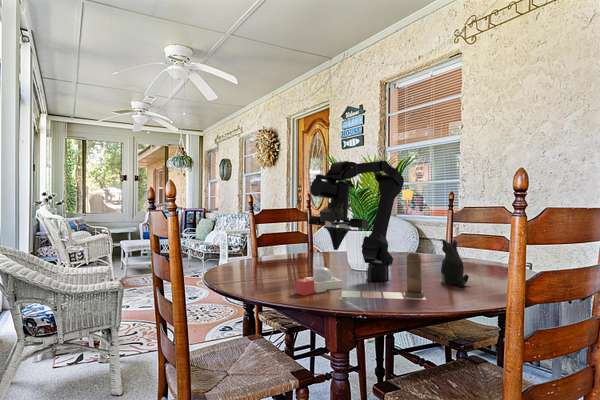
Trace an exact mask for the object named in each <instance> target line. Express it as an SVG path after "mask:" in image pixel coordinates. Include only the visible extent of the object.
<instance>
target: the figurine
mask: <svg viewBox="0 0 600 400" xmlns="http://www.w3.org/2000/svg"><path fill="white" fill-rule="evenodd" d="M441 241H442V248H441V250H442V252H443V253H444V255H445V256H444V258H443V259H442V261H441V267H440V280H439V282H438V283H440V284H444V285H450V286H452V287H456V288H463V287H464V286H465V285H466V283H468V281H469V278H470V276H469V274H464V268H465V267H464V262H463V260H462V258H461V256H460V254H459V252H458V248H457V246H458V242H457V240H456V239H453V240H452V241H451V242H448V241H446V239H442V240H441Z"/></svg>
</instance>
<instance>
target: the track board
mask: <svg viewBox="0 0 600 400" xmlns="http://www.w3.org/2000/svg"><path fill="white" fill-rule="evenodd" d="M361 294H362V295H361ZM361 296H362V299H388V300H389V299H392V300H396V299H397V300H404V299H405V300H419V301H420V300H421V301H422V300H423V301H424V300H425V301H427V299H426V297H425V296H424V297H423V298H410V297H406V296H405V292H403V293H402V292H398V291H397V292H393V291H392V292H391V291H382V292H381V291H366V290H365V291H362V293H361V291H360V290H358V291H357V290H341V295H340V296H339V301H348V300H347V299H345V298H354V299H355V298H359V299H360V298H361Z"/></svg>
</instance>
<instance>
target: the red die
mask: <svg viewBox="0 0 600 400" xmlns="http://www.w3.org/2000/svg"><path fill="white" fill-rule="evenodd" d="M306 278H307V277H304V278H299V279H295V281H294V282H295V283H294V284H295V294H297V295H301V296H303V297H304V296H308V295H313V294H315V292H314V280H310V279H306Z"/></svg>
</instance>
